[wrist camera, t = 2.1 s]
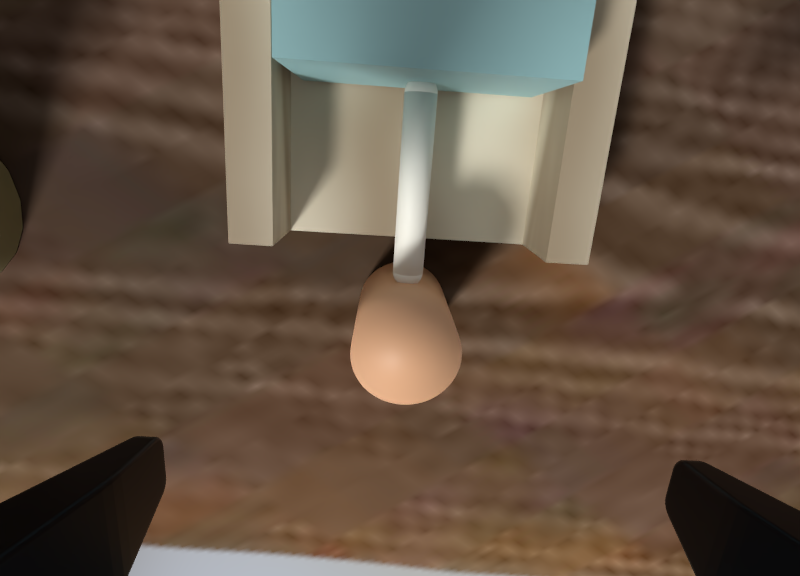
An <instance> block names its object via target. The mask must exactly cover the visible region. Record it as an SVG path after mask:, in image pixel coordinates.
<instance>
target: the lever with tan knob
mask: <svg viewBox="0 0 800 576" xmlns="http://www.w3.org/2000/svg"><path fill="white" fill-rule="evenodd" d="M595 5H596V0H271V16H272V58H273V59H275V60H276V61H278V62H279V63H280V64H282V65H283V66H284V67H286V68H287V69H289V70H290V71H291V72H293V73H294V74H295V75H297V76H298V77H299V78H301V79H302V80H304V81H318V82H331V83H345V84H358V85H371V86H385V87H398V88H405V91H404V106H403V122H402V137H401V153H400V168H399V184H398V199H397V215H396V231H395V246H394V262H393V263H390V264H387V265H385V266H382V267H381V268H379V269H377V270H376V271H375V272H373V273H372V274H371V275H370V276H369V278H368V279H367V280H366V282H365V284H364V285H363V288H362V291H361V294H360V300H359V305H358V311H357V316H356V321H355V327H354V332H353V338H352V343H351V351H350V358H351V364H352V368H353V371H354V373H355V375H356V377H357V379H358V381H359V382H360V383H361V385H362V386H363V387H364V388H365V389H366V390H367V391H368V392H370V393H371V394H372V395H374V396H375V397H377V398H379V399H381V400H384V401H387V402H390V403H394V404H402V405H404V404H417V403H421V402H424V401H427V400H430V399H432V398H434V397H435V396H437V395H439V394H440V393H441V392H443V391H444V390H445V389H446V388H447V387H448V386H449V385H450V384H451V383H452V381H453V380H454V378H455V377H456V375H457V373H458V370H459V367H460V364H461V359H462V346H461V341H460V338H459V335H458V332H457V329H456V327H455V324H454V321H453V318H452V316H451V313H450V310H449V307H448V305H447V302H446V299H445V296H444V294H443V291H442V288H441V286H440V284H439V282H438V280H437V279H436V278H435V276H434V275H433V274H432V273H431V272H430V271H428V270H427V269H425V268H424V267H423V265H424V253H425V241H426V229H427V217H428V205H429V193H430V181H431V169H432V157H433V145H434V133H435V121H436V109H437V96H438V90H439V91H452V92H466V93H479V94H493V95H506V96H520V97H534V96H537V95H540V94H544V93H547V92H550V91H553V90H556V89H559V88H563V87H566V86H569V85H572V84H575V83H578V82H582V81H583V78H584V72H585V66H586V60H587V54H588V48H589V42H590V36H591V29H592V23H593V17H594V11H595Z"/></svg>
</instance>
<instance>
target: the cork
mask: <svg viewBox="0 0 800 576" xmlns="http://www.w3.org/2000/svg"><path fill="white" fill-rule="evenodd" d="M22 229H23V224H22V212H21V201H20V198H19V195H18V193H17V190H16V188H15V186H14V183H13V181H12V178H11V176H10V173H9V171H8V170H7V169H6V167H5V166H4V165H3V163H2V162H1V161H0V272H2V271H3V269H4V268H5V267H6V265H7V264H8V263H9V261H10V260H11V259H12V258H13V256H14V255H15V254H16V252H17V248H18V244H19V241H20V237H21V233H22Z"/></svg>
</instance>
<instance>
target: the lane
mask: <svg viewBox="0 0 800 576" xmlns="http://www.w3.org/2000/svg"><path fill="white" fill-rule="evenodd" d="M636 2H637V0H596V5H595V11H594V17H593V23H592V29H591V36H590V42H589V48H588V54H587V60H586V66H585V72H584V78H583V81H582V82H578V83H575V84H572V85H569V86H566V87H563V88H559V89H556V90H553V91H550V92H547V93H544V94H540V95H537V96H534V97H520V96H506V95H493V94H479V93H466V92H452V91H439V90H438V96H437V109H436V121H435V133H434V145H433V157H432V169H431V181H430V193H429V205H428V217H427V229H426V238H428V239H444V240H461V241H477V242H493V243H509V244H522V245H524V246H525V247H526V248H528V249H529V250H530V251H532V252H533V253H534V254H536V255H537V256H538V257H540V258H541V259H542V260H543V261H545V262H548V263H565V264H582V265H588V262H589V256H590V251H591V245H592V240H593V235H594V229H595V224H596V218H597V213H598V208H599V202H600V197H601V191H602V186H603V181H604V175H605V170H606V164H607V159H608V153H609V148H610V143H611V137H612V132H613V126H614V121H615V116H616V110H617V105H618V99H619V94H620V89H621V83H622V78H623V72H624V67H625V62H626V56H627V51H628V45H629V40H630V35H631V29H632V24H633V18H634V13H635V8H636ZM220 26H221V53H222V80H223V106H224V133H225V160H226V187H227V213H228V240H229V243H231V244H248V245H264V246H273V245H275V244H276V243H277V242H278V241H279V240H280V239H281V238H282V237H284V236H285V235H286V234H287V233H288V232H289V231H290V230H298V231H314V232H330V233H346V234H363V235H379V236H395V231H396V215H397V199H398V184H399V168H400V153H401V137H402V122H403V106H404V91H405V88H398V87H385V86H371V85H358V84H345V83H331V82H318V81H304V80H302V79H301V78H299V77H298V76H297V75H295V74H294V73H293V72H291V71H290V70H289V69H287V68H286V67H284V66H283V65H282V64H280V63H279V62H278V61H276V60H275V59H273V58H272V16H271V0H220Z"/></svg>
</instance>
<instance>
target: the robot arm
mask: <svg viewBox="0 0 800 576" xmlns="http://www.w3.org/2000/svg"><path fill="white" fill-rule="evenodd" d="M165 484H166V472H165V461H164V450H163V443H162V441H161V439H159V438H158V437H144V436H136V437H133V438H130V439H128V440H126V441H124V442H122V443H120V444H118V445H116V446H114V447H112V448H110V449H108V450H106V451H104V452H102V453H100V454H98V455H96V456H94V457H92V458H90V459H88V460H86V461H84V462H82V463H80V464H78V465H76V466H74V467H72V468H70V469H68V470H66V471H64V472H62V473H60V474H58V475H56V476H54V477H52V478H50V479H48V480H46V481H44V482H42V483H40V484H38V485H36V486H34V487H32V488H30V489H28V490H26V491H24V492H22V493H20V494H18V495H16V496H14V497H12V498H10V499H8V500H6V501H4V502H2V503H0V576H128V574H129V572H130V570H131V568H132V565H133V563H134V560H135V558H136V556H137V554H138V551H139V549H140V547H141V544H142V542H143V539H144V537H145V535H146V532H147V530H148V528H149V525H150V523H151V521H152V518H153V516H154V514H155V511H156V509H157V507H158V504H159V502H160V499H161V497H162V495H163V492H164V489H165ZM665 505H666V510H667V513H668V516H669V518H670V520H671V523H672V525H673V527H674V529H675V531H676V534H677V536H678V538H679V540H680V542H681V545H682V547H683V549H684V551H685V553H686V556H687V558H688V560H689V562H690V564H691V567H692V569H693V571H694V573H695V575H696V576H800V511H799V510H797V509H795V508H793V507H791V506H789V505H787V504H785V503H783V502H781V501H779V500H777V499H776V498H774V497H772V496H770V495H768V494H766V493H764V492H762V491H760V490H758V489H756V488H754V487H752V486H750V485H748V484H746V483H744V482H742V481H740V480H738V479H736V478H734V477H733V476H731V475H729V474H727V473H725V472H723V471H721V470H719V469H717V468H715V467H713V466H711V465H709V464H707V463H705V462H702V461H687V460H681V461H679V462H677V463H676V464H675V466H674V468H673V472H672V476H671V479H670V483H669V487H668V490H667V494H666V499H665Z"/></svg>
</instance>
